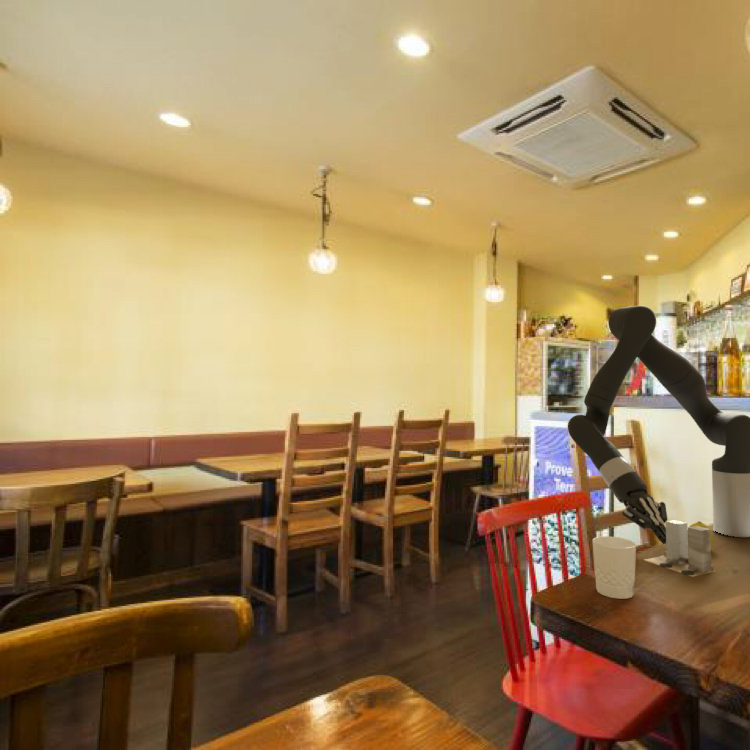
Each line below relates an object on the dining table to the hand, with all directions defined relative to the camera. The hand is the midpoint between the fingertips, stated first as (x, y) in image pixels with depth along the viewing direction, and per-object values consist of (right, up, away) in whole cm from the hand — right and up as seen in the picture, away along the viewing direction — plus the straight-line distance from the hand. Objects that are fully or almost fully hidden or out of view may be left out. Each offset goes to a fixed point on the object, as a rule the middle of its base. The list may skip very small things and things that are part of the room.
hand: (668, 541), depth 118 cm
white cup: (-19, -5, -15) cm, 25 cm away
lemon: (+12, -6, +7) cm, 15 cm away
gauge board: (0, -5, -3) cm, 6 cm away
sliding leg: (+1, -4, -2) cm, 5 cm away
